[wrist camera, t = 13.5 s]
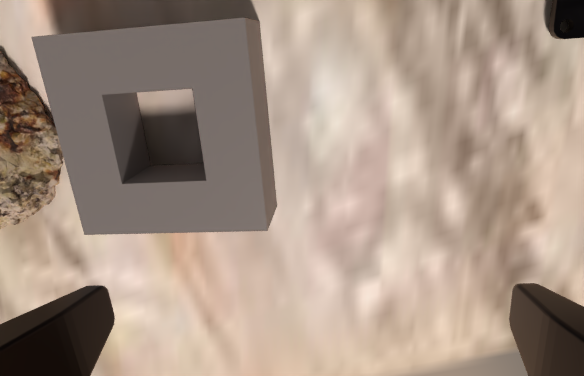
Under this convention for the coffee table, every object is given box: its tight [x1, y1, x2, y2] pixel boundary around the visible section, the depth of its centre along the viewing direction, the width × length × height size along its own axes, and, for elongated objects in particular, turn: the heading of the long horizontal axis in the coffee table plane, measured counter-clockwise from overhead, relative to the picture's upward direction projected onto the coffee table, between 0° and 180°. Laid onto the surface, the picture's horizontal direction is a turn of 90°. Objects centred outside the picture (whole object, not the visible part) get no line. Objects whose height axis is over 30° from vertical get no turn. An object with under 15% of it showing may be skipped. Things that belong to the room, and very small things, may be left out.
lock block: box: [32, 17, 277, 235], centre depth 19 cm, size 9×9×3 cm
